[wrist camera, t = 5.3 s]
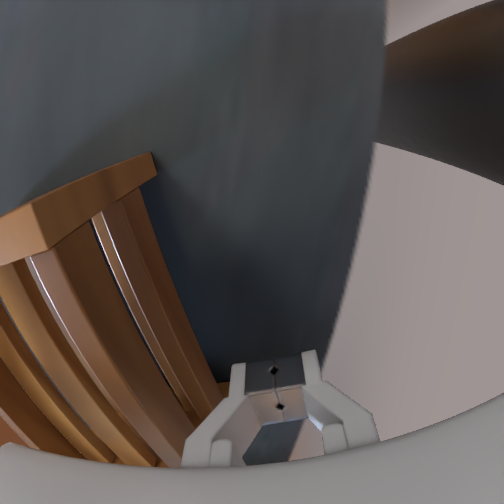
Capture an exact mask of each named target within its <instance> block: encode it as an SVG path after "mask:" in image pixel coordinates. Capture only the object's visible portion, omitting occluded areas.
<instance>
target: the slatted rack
mask: <svg viewBox="0 0 504 504" xmlns="http://www.w3.org/2000/svg"><path fill="white" fill-rule="evenodd" d="M156 175H157V172H156V169H155V165H154V162H153V159H152V155H151V152H148V153H145V154H142V155H139V156H136V157H133V158H130V159H128V160H125V161H122V162H119V163H117V164H114V165H111V166H109V167H106V168H104V169H101V170H98V171H96V172H93V173H91V174H88V175H86V176H84V177H81V178H79V179H76V180H74V181H72V182H69V183H67V184H65V185H62V186H60V187H58V188H56V189H54V190H51V191H49V192H47V193H45V194H43V195H40V196H38V197H36V198H34V199H32V200H30V201H28V202H26V203H24V204H22V205H20V206H18V207H16V208H14V209H12V210H10V211H8V212H6V213H5V214H3V215H1V216H0V296H1V298H2V300H3V302H4V304H5V306H6V308H7V309H8V311H9V313H10V315H11V317H12V318H13V320H14V322H15V324H16V325H17V327H18V329H19V330H20V332H21V334H22V335H23V337H24V339H25V340H26V342H27V344H28V345H29V347H30V348H31V350H32V351H33V353H34V354H35V356H36V357H37V359H38V360H39V362H40V363H41V365H42V366H43V368H44V369H45V371H46V372H47V373H48V375H49V376H50V378H51V379H52V380H53V382H54V383H55V384H56V386H57V387H58V388H59V390H60V391H61V392H62V394H63V395H64V396H65V398H66V399H67V400H68V401H69V403H70V404H71V405H72V406H73V408H74V409H75V410H76V411H77V412H78V414H79V415H80V416H81V417H82V418H83V420H84V421H85V422H86V423H87V424H88V425H89V426H90V428H91V430H90V429H89V428H88V427H87V426H86V425H85V423H84V422H83V421H82V420H81V419H80V418H79V416H78V415H77V414H76V413H75V412H74V410H73V409H72V408H71V407H70V406H69V404H68V403H67V402H66V401H65V399H64V398H63V397H62V396H61V394H60V393H59V392H58V390H57V389H56V388H55V386H54V385H53V384H52V382H51V381H50V380H49V378H48V377H47V375H46V374H45V373H44V371H43V370H42V368H41V367H40V365H39V364H38V363H37V361H36V360H35V358H34V357H33V355H32V354H31V352H30V350H29V349H28V347H27V346H26V344H25V343H24V341H23V339H22V338H21V336H20V335H19V333H18V331H17V330H16V328H15V326H14V324H13V323H12V321H11V319H10V317H9V316H8V314H7V312H6V310H5V308H4V306H3V305H2V303H1V301H0V356H1V357H0V416H1V417H2V418H3V419H4V420H5V421H6V422H7V423H8V425H9V426H10V427H11V428H12V429H13V430H14V431H15V432H16V433H17V434H18V435H19V436H20V437H21V438H22V439H23V440H24V441H25V442H26V443H27V444H28V445H29V446H30V447H31V448H33V449H37V450H41V451H46V452H50V453H55V454H59V455H64V456H69V457H74V458H80V459H86V460H92V461H99V462H106V463H114V464H124V465H134V466H147V467H167V468H180V466H181V461H182V455H183V450H184V445H185V440H186V439H187V438H188V437H189V436H190V435H191V434H192V433H193V432H194V431H195V429H196V428H197V427H198V426H199V425H200V424H201V423H202V422H203V421H204V420H205V419H206V418H207V417H208V415H209V414H210V413H211V412H212V411H213V410H214V409H215V408H216V407H217V406H218V405H219V403H220V402H221V401H222V400H223V399H224V398H227V397H229V387H230V382H223V383H216V381H215V379H214V377H213V375H212V373H211V370H210V368H209V366H208V364H207V362H206V359H205V357H204V355H203V353H202V351H201V348H200V346H199V344H198V341H197V339H196V337H195V335H194V332H193V330H192V328H191V325H190V323H189V320H188V318H187V316H186V313H185V311H184V308H183V306H182V304H181V301H180V299H179V296H178V294H177V291H176V289H175V286H174V284H173V281H172V279H171V276H170V273H169V271H168V268H167V266H166V263H165V260H164V258H163V255H162V252H161V249H160V247H159V244H158V241H157V238H156V236H155V233H154V230H153V227H152V224H151V221H150V219H149V216H148V213H147V210H146V207H145V204H144V201H143V198H142V195H141V192H140V189H139V188H138V187H139V186H140V185H142V184H143V183H145V182H147V181H148V180H150V179H151V178H153V177H155V176H156ZM89 219H92V221H93V224H94V227H95V229H96V232H97V235H98V237H99V240H100V242H101V245H102V247H103V250H104V252H105V255H106V257H107V259H108V262H109V264H110V266H111V269H112V271H113V273H114V276H115V278H116V280H117V282H118V285H119V287H120V289H121V291H122V293H123V296H124V298H125V300H126V302H127V304H128V306H129V308H130V310H131V312H132V315H133V317H134V319H135V321H136V323H137V325H138V327H139V329H140V331H141V332H142V334H143V336H144V338H145V340H146V342H147V344H148V346H149V348H150V350H151V352H152V353H153V355H154V357H155V359H156V361H157V363H158V364H159V366H160V368H161V370H162V371H163V373H164V375H165V377H166V378H167V380H168V382H169V384H170V385H171V387H170V388H169V386H168V385H167V383H166V381H165V380H164V378H163V376H162V374H161V373H160V371H159V369H158V367H157V366H156V364H155V362H154V360H153V358H152V357H151V355H150V353H149V351H148V349H147V347H146V346H145V344H144V342H143V340H142V338H141V336H140V334H139V332H138V330H137V328H136V326H135V324H134V322H133V320H132V318H131V316H130V314H129V312H128V310H127V308H126V306H125V304H124V302H123V300H122V298H121V296H120V293H119V291H118V289H117V287H116V285H115V282H114V280H113V278H112V276H111V273H110V271H109V269H108V267H107V264H106V262H105V259H104V257H103V255H102V252H101V250H100V247H99V245H98V242H97V240H96V237H95V235H94V232H93V230H92V227H91V224H90V222H89V221H88V220H89ZM1 358H2V359H3V360H2V359H1ZM3 361H4V362H5V363H4V362H3ZM5 364H6V365H7V366H6V365H5ZM8 368H9V369H10V370H9V369H8ZM10 371H11V372H12V373H11V372H10ZM13 375H14V376H15V377H14V376H13ZM15 378H16V379H17V380H18V381H17V380H16V379H15ZM18 382H19V383H20V384H21V385H20V384H19V383H18ZM21 386H22V387H23V388H24V389H23V388H22V387H21ZM25 391H26V392H27V393H26V392H25ZM28 395H29V396H30V397H31V398H30V397H29V396H28ZM32 400H33V401H34V402H35V403H34V402H33V401H32ZM37 406H38V407H39V408H40V409H39V408H38V407H37ZM42 412H43V413H44V414H45V415H46V416H45V415H44V414H43V413H42ZM49 420H50V421H51V422H52V423H53V424H54V425H53V424H52V423H51V422H50V421H49ZM59 431H60V432H61V433H62V434H63V435H64V436H65V437H66V438H67V439H68V440H69V441H70V442H71V443H72V444H73V445H74V446H75V447H76V448H77V449H78V450H79V451H80V452H81V453H80V452H79V451H78V450H77V449H76V448H75V447H74V446H73V445H72V444H71V443H70V442H69V441H68V440H67V439H66V438H65V437H64V436H63V435H62V434H61V433H60V432H59Z"/></svg>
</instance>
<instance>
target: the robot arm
mask: <svg viewBox="0 0 504 504" xmlns="http://www.w3.org/2000/svg"><path fill="white" fill-rule="evenodd" d="M306 418H309V420H310V421H311V422H312V423H313V424H314V425H315V426H316V427H317V428H318V429H319V430H320V431H321V432H322V440H323V447H324V455H323V456H318V457H312V458H307V459H300V460H293V461H286V462H279V463H270V464H261V465H250V466H247V465H246V464H245V462H244V460H243V459H242V457H243V455H244V454H245V452H246V450H247V449H248V447H249V446H250V444H251V443H252V441H253V440H254V438H255V436H256V435H257V433H258V432H259V430H260V429H261V426H262V425H268V424H274V423H280V422H286V421H293V420H300V419H306ZM0 504H504V393H502V394H501V395H499V396H497V397H495V398H493V399H491V400H489V401H487V402H485V403H483V404H480V405H478V406H476V407H474V408H472V409H470V410H467V411H465V412H463V413H460V414H458V415H456V416H453V417H451V418H448V419H446V420H443V421H441V422H438V423H436V424H433V425H431V426H428V427H425V428H422V429H419V430H416V431H414V432H411V433H408V434H404V435H402V436H398V437H395V438H392V439H388V440H385V441H382V442H380V439H379V435H378V432H377V429H376V425H375V422H374V419H373V415H372V413H370V412H369V411H368V410H366V409H365V408H363V407H362V406H361V405H359V404H358V403H356V402H355V401H354V400H352V399H351V398H349V397H348V396H347V395H345V394H344V393H342V392H341V391H340V390H338V389H337V388H336V387H334V386H333V385H332V384H330V383H329V382H327V381H324V382H323V381H322V376H321V371H320V367H319V362H318V357H317V353H316V350H315V349H314V350H310V351H305V352H302V354H301V353H297V354H292V355H287V356H282V357H277V358H271V359H265V360H258V361H251V362H246V363H238V364H233V365H232V367H231V377H230V387H229V397H227V398H224V399H223V400H222V401H221V402H220V403H219V405H218V406H217V407H216V408H215V409H214V410H213V411H212V412H211V413H210V414H209V415H208V417H207V418H206V419H205V420H204V421H203V422H202V423H201V424H200V425H199V426H198V427H197V428H196V429H195V431H194V432H193V433H192V434H191V435H190V436H189V437H188V438H187V439H186V440H185V445H184V450H183V455H182V461H181V466H180V468H167V467H147V466H134V465H124V464H114V463H106V462H99V461H92V460H86V459H80V458H74V457H69V456H64V455H59V454H55V453H50V452H46V451H41V450H37V449H33V448H29V447H26V446H23V445H19V444H16V443H6V444H4V445H3V446H1V447H0Z"/></svg>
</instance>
